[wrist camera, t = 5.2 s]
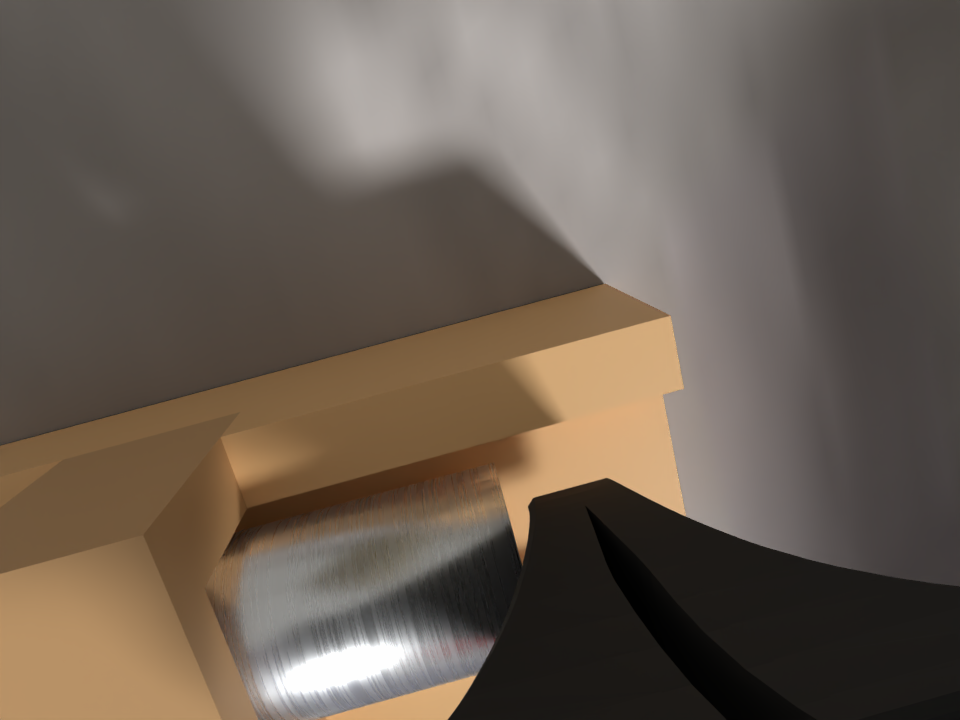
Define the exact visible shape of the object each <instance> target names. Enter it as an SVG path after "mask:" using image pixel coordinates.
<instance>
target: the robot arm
mask: <svg viewBox="0 0 960 720" xmlns="http://www.w3.org/2000/svg"><path fill="white" fill-rule="evenodd" d="M528 510H529V515H530V523H529V533H528V541H527V546H526V551H525V556H524V560H523V565H522V569H521V573H520V576H519V579H518V582H517V586H516V589H515V592H514V595H513V598H512V601H511V604H510V607H509V610H508V612H507V615H506V617H505V620H504V622H503V624H502V627H501V629H500V631H499V633H498V636H497V638H496V640H495V642H494V644H493V646H492V648H491V650H490V652H489V654H488V656H487V658H486V660H485V661H484V663H483V665H482V667H481V669H480V670H479V672H478V674H477V676H476V677H475V679H474V681H473V683H472V684H471V686H470V688H469V689H468V691H467V692H466V694H465V696H464V697H463V699H462V700H461V702H460V703H459V705H458V706H457V708H456V709H455V710H454V712H453V713H452V714H451V716H450V717H449V718H448V720H960V587H959V586H950V585H941V584H933V583H926V582H920V581H913V580H906V579H900V578H893V577H888V576H883V575H877V574H872V573H867V572H862V571H857V570H852V569H847V568H842V567H837V566H833V565H829V564H824V563H820V562H816V561H812V560H808V559H804V558H801V557H797V556H794V555H791V554H787V553H784V552H780V551H777V550H773V549H770V548H766V547H763V546H760V545H757V544H754V543H751V542H748V541H745V540H742V539H740V538H737V537H735V536H732V535H729V534H727V533H724V532H722V531H719V530H716V529H714V528H711V527H709V526H706V525H704V524H702V523H699V522H697V521H695V520H692V519H690V518H688V517H686V516H683V515H681V514H679V513H677V512H675V511H673V510H671V509H668V508H666V507H664V506H662V505H660V504H658V503H656V502H654V501H652V500H650V499H648V498H646V497H644V496H642V495H640V494H638V493H637V492H635V491H633V490H631V489H629V488H627V487H625V486H623V485H621V484H619V483H617V482H615V481H613V480H611V479H609V478H604V479H600V480H597V481H593V482H589V483H586V484H582V485H578V486H575V487H571V488H567V489H564V490H560V491H556V492H553V493H549V494H545V495H542V496H538V497H534V498H533V499H532V500H531V502H530V504H529V505H528Z"/></svg>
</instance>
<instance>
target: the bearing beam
mask: <svg viewBox="0 0 960 720" xmlns="http://www.w3.org/2000/svg"><path fill="white" fill-rule="evenodd" d="M681 389H684V386H683V381H682V375H681V370H680V365H679V359H678V354H677V348H676V343H675V337H674V332H673V326H672V321H671V316H670V315H668V314H666V313H664V312H662V311H660V310H658V309H656V308H654V307H652V306H650V305H648V304H646V303H644V302H642V301H640V300H638V299H636V298H634V297H632V296H629V295H627V294H625V293H623V292H621V291H619V290H617V289H615V288H613V287H611V286H609V285H607V284H602V285H598V286H594V287H591V288H587V289H583V290H580V291H576V292H572V293H568V294H565V295H561V296H557V297H553V298H550V299H546V300H542V301H538V302H535V303H531V304H527V305H524V306H520V307H516V308H512V309H509V310H505V311H501V312H497V313H494V314H490V315H486V316H483V317H479V318H475V319H471V320H468V321H464V322H460V323H456V324H453V325H449V326H445V327H441V328H438V329H434V330H430V331H427V332H423V333H419V334H415V335H412V336H408V337H404V338H400V339H397V340H393V341H389V342H385V343H382V344H378V345H374V346H371V347H367V348H363V349H359V350H356V351H352V352H348V353H344V354H341V355H337V356H333V357H330V358H326V359H322V360H318V361H315V362H311V363H307V364H303V365H300V366H296V367H292V368H288V369H285V370H281V371H277V372H274V373H270V374H266V375H262V376H259V377H255V378H251V379H247V380H244V381H240V382H236V383H233V384H229V385H225V386H221V387H218V388H214V389H210V390H206V391H203V392H199V393H195V394H191V395H188V396H184V397H180V398H177V399H173V400H169V401H165V402H162V403H158V404H154V405H150V406H147V407H143V408H139V409H135V410H132V411H128V412H124V413H121V414H117V415H113V416H109V417H106V418H102V419H98V420H94V421H91V422H87V423H83V424H80V425H76V426H72V427H68V428H65V429H61V430H57V431H53V432H50V433H46V434H42V435H38V436H35V437H31V438H27V439H24V440H20V441H16V442H12V443H9V444H5V445H1V446H0V720H258V718H257V716H256V713H255V711H254V709H253V706H252V704H251V701H250V699H249V696H248V694H247V691H246V689H245V687H244V684H243V682H242V679H241V677H240V674H239V672H238V669H237V667H236V664H235V662H234V660H233V657H232V655H231V652H230V650H229V647H228V645H227V642H226V640H225V638H224V635H223V633H222V630H221V628H220V625H219V623H218V620H217V618H216V616H215V613H214V611H213V608H212V606H211V603H210V601H209V598H208V596H207V593H206V591H205V587H206V585H207V583H208V581H209V579H210V577H211V575H212V573H213V572H214V570H215V568H216V566H217V564H218V562H219V560H220V558H221V556H222V555H223V553H224V551H225V549H226V547H227V545H228V543H229V541H230V540H231V538H232V536H233V534H234V532H237V531H241V530H245V529H248V528H252V527H256V526H260V525H263V524H267V523H271V522H274V521H278V520H282V519H286V518H289V517H293V516H297V515H300V514H304V513H308V512H312V511H315V510H319V509H323V508H326V507H330V506H334V505H338V504H341V503H345V502H349V501H353V500H356V499H360V498H364V497H367V496H371V495H375V494H379V493H382V492H386V491H390V490H393V489H397V488H401V487H405V486H408V485H412V484H416V483H419V482H423V481H427V480H431V479H434V478H438V477H442V476H446V475H449V474H453V473H457V472H460V471H464V470H468V469H472V468H475V467H479V466H483V465H486V464H490V463H494V465H495V468H496V472H497V475H498V479H499V482H500V486H501V489H502V493H503V497H504V500H505V504H506V508H507V511H508V515H509V519H510V522H511V526H512V530H513V533H514V537H515V541H516V545H517V548H518V552H519V556H520V559H521V563H522V565H523V560H524V556H525V551H526V546H527V541H528V533H529V523H530V515H529V510H528V505H529V504H530V502H531V500H532V499H533V498H534V497H538V496H542V495H545V494H549V493H553V492H556V491H560V490H564V489H567V488H571V487H575V486H578V485H582V484H586V483H589V482H593V481H597V480H600V479H604V478H609V479H611V480H613V481H615V482H617V483H619V484H621V485H623V486H625V487H627V488H629V489H631V490H633V491H635V492H637V493H638V494H640V495H642V496H644V497H646V498H648V499H650V500H652V501H654V502H656V503H658V504H660V505H662V506H664V507H666V508H668V509H671V510H673V511H675V512H677V513H679V514H681V515H683V516H686V514H685V509H684V504H683V498H682V493H681V488H680V483H679V478H678V472H677V467H676V462H675V457H674V452H673V446H672V441H671V436H670V431H669V426H668V420H667V415H666V410H665V405H664V400H663V394H667V393H670V392H674V391H678V390H681ZM476 676H477V675H476ZM476 676H472V677H468V678H465V679H461V680H458V681H454V682H450V683H447V684H443V685H440V686H436V687H432V688H429V689H425V690H422V691H418V692H414V693H411V694H407V695H404V696H400V697H396V698H393V699H389V700H386V701H382V702H378V703H375V704H371V705H368V706H364V707H360V708H357V709H353V710H350V711H346V712H342V713H339V714H335V715H332V716H328V717H324V718H321V719H317V720H448V718H449V717H450V716H451V714H452V713H453V712H454V710H455V709H456V708H457V706H458V705H459V703H460V702H461V700H462V699H463V697H464V696H465V694H466V692H467V691H468V689H469V688H470V686H471V684H472V683H473V681H474V679H475V677H476Z"/></svg>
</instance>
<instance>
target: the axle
mask: <svg viewBox="0 0 960 720" xmlns="http://www.w3.org/2000/svg"><path fill="white" fill-rule="evenodd" d="M521 569H522V563H521V559H520V556H519V552H518V548H517V545H516V541H515V537H514V533H513V530H512V526H511V522H510V519H509V515H508V511H507V508H506V504H505V500H504V497H503V493H502V489H501V486H500V482H499V479H498V475H497V472H496V468H495V465H494V463H490V464H486V465H483V466H479V467H475V468H472V469H468V470H464V471H460V472H457V473H453V474H449V475H446V476H442V477H438V478H434V479H431V480H427V481H423V482H419V483H416V484H412V485H408V486H405V487H401V488H397V489H393V490H390V491H386V492H382V493H379V494H375V495H371V496H367V497H364V498H360V499H356V500H353V501H349V502H345V503H341V504H338V505H334V506H330V507H326V508H323V509H319V510H315V511H312V512H308V513H304V514H300V515H297V516H293V517H289V518H286V519H282V520H278V521H274V522H271V523H267V524H263V525H260V526H256V527H252V528H248V529H245V530H241V531H237V532H234V534H233V536H232V538H231V540H230V541H229V543H228V545H227V547H226V549H225V551H224V553H223V555H222V556H221V558H220V560H219V562H218V564H217V566H216V568H215V570H214V572H213V573H212V575H211V577H210V579H209V581H208V583H207V585H206V587H205V591H206V593H207V596H208V598H209V601H210V603H211V606H212V608H213V611H214V613H215V616H216V618H217V620H218V623H219V625H220V628H221V630H222V633H223V635H224V638H225V640H226V642H227V645H228V647H229V650H230V652H231V655H232V657H233V660H234V662H235V664H236V667H237V669H238V672H239V674H240V677H241V679H242V682H243V684H244V687H245V689H246V691H247V694H248V696H249V699H250V701H251V704H252V706H253V709H254V711H255V713H256V716H257V718H258V720H317V719H321V718H324V717H328V716H332V715H335V714H339V713H342V712H346V711H350V710H353V709H357V708H360V707H364V706H368V705H371V704H375V703H378V702H382V701H386V700H389V699H393V698H396V697H400V696H404V695H407V694H411V693H414V692H418V691H422V690H425V689H429V688H432V687H436V686H440V685H443V684H447V683H450V682H454V681H458V680H461V679H465V678H468V677H472V676H476V675H477V674H478V672H479V670H480V669H481V667H482V665H483V663H484V661H485V660H486V658H487V656H488V654H489V652H490V650H491V648H492V646H493V644H494V642H495V640H496V638H497V636H498V633H499V631H500V629H501V627H502V624H503V622H504V620H505V617H506V615H507V612H508V610H509V607H510V604H511V601H512V598H513V595H514V592H515V589H516V586H517V582H518V579H519V576H520V573H521Z"/></svg>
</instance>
